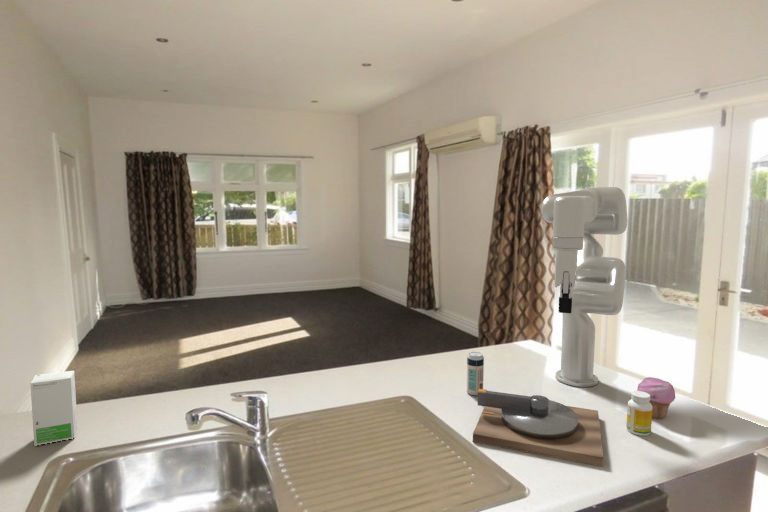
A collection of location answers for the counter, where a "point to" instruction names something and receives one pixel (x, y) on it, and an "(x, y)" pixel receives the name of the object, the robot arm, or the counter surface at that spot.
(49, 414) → the skincare box
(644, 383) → the cupcake
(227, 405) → the counter surface
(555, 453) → the dial base
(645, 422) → the supplement bottle
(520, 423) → the dial
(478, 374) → the pill bottle
